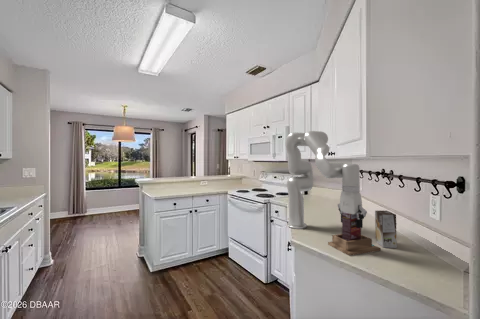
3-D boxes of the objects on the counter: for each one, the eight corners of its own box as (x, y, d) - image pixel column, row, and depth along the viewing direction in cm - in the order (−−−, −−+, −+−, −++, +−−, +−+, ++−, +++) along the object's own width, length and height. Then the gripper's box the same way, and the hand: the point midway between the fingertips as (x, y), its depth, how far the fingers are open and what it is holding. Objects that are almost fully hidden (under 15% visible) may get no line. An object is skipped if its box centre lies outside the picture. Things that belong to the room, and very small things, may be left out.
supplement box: (351, 248, 104) (350, 214, 104) (341, 245, 108) (341, 212, 108) (361, 244, 109) (361, 212, 109) (352, 241, 113) (351, 210, 113)
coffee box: (397, 248, 107) (397, 214, 107) (382, 247, 108) (382, 214, 108) (388, 241, 116) (387, 210, 116) (374, 240, 117) (374, 210, 117)
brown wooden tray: (328, 244, 113) (327, 234, 113) (356, 240, 118) (356, 230, 118) (349, 255, 100) (349, 243, 100) (380, 250, 105) (380, 239, 105)
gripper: (332, 187, 116) (332, 221, 116) (358, 192, 99) (359, 230, 99) (344, 187, 118) (344, 219, 118) (372, 191, 102) (372, 229, 101)
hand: (351, 224), depth 109 cm, fingers open, 9 cm apart
